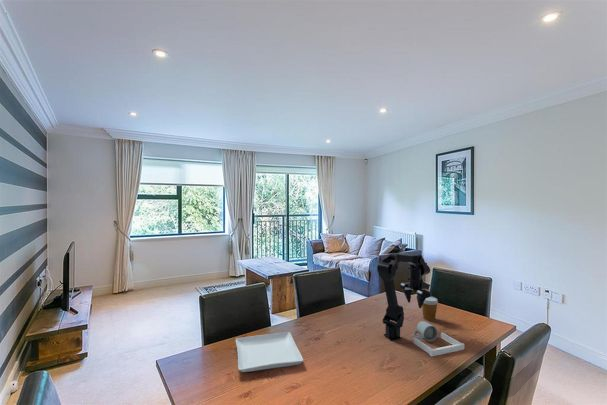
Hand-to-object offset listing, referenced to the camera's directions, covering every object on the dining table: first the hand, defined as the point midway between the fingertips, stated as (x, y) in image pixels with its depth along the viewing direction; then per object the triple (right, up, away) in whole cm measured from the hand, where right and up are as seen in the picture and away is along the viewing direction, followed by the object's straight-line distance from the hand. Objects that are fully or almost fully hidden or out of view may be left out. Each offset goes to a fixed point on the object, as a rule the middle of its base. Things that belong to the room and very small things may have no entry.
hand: (414, 305), depth 161 cm
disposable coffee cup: (+13, -12, +11) cm, 21 cm away
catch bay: (+3, -13, -19) cm, 23 cm away
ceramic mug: (+1, -13, -12) cm, 17 cm away
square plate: (-77, -13, -28) cm, 83 cm away
